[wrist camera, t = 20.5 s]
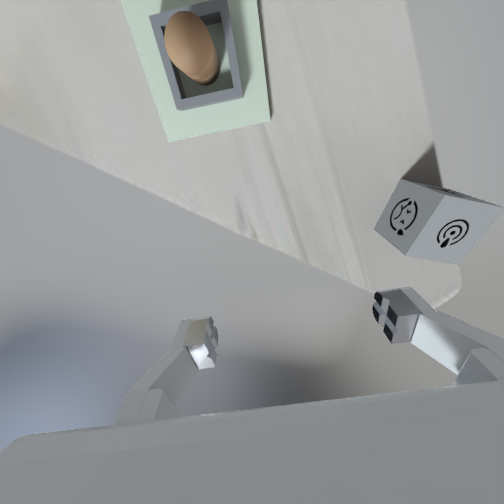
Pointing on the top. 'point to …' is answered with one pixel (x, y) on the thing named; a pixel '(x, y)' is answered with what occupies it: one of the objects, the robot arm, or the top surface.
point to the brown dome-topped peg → (192, 47)
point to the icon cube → (435, 221)
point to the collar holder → (231, 66)
